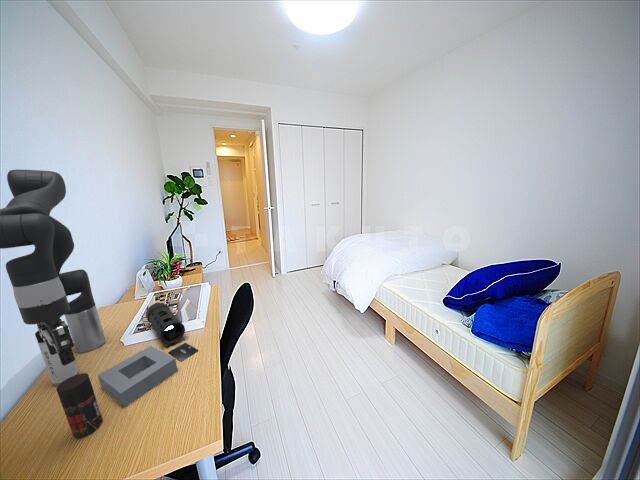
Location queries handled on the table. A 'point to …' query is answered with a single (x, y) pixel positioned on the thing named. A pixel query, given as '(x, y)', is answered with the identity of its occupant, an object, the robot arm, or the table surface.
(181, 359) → the solid state drive
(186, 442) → the table surface
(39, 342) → the travel mug
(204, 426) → the table surface
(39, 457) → the table surface
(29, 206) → the robot arm
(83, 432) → the deodorant
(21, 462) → the table surface
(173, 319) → the muzzle brake
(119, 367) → the block
